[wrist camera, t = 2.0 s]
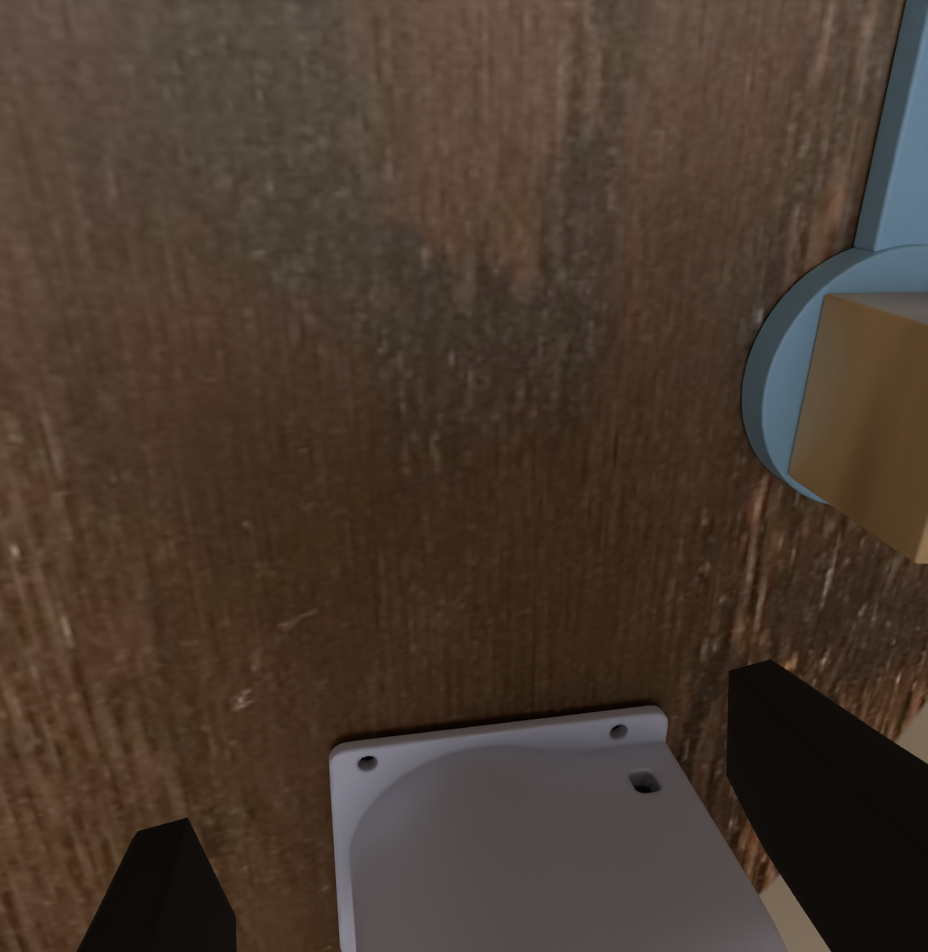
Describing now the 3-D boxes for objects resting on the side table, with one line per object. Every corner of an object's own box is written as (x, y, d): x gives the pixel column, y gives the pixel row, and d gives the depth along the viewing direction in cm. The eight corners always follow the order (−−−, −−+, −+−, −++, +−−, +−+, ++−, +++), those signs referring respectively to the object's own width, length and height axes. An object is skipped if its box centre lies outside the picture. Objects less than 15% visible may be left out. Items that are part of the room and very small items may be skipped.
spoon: (1145, -230, 15) (1198, -253, 14) (937, 483, 21) (965, 498, 20) (853, -270, 14) (891, -297, 13) (721, 498, 20) (741, 515, 19)
